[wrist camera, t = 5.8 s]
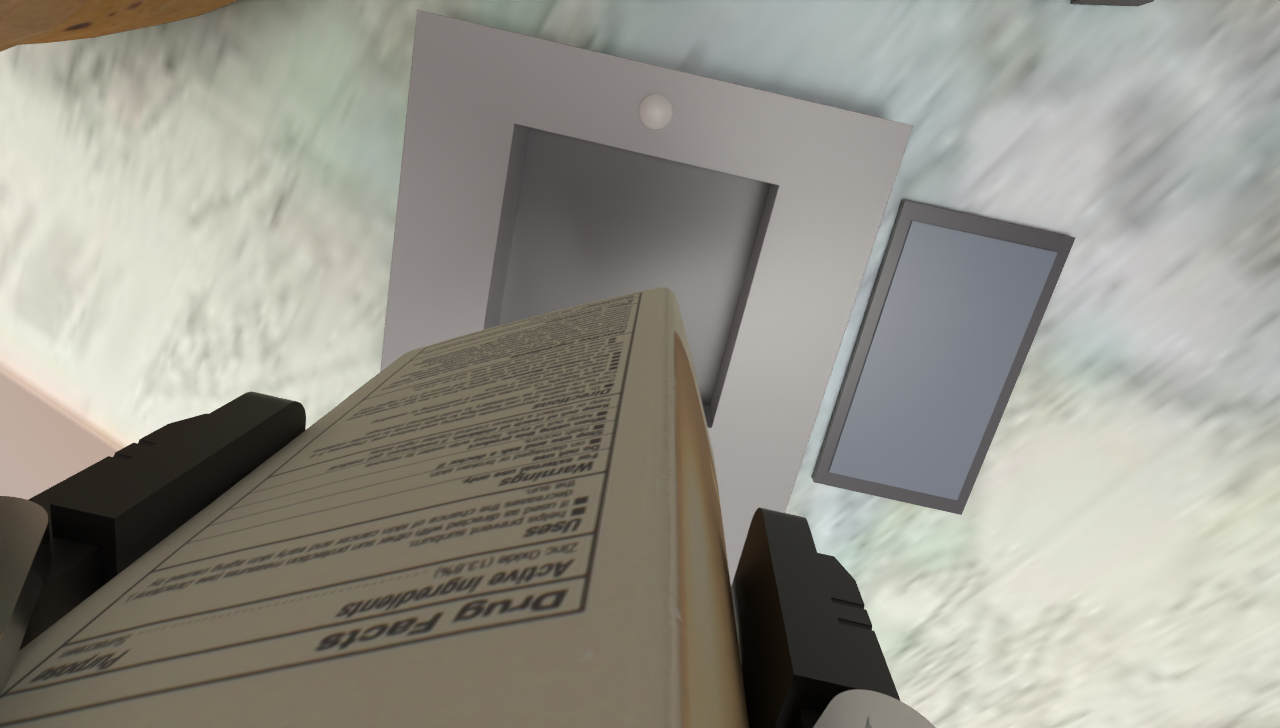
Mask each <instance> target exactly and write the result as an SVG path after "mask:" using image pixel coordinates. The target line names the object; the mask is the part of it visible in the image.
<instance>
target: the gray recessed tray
mask: <svg viewBox="0 0 1280 728" xmlns="http://www.w3.org/2000/svg"><path fill="white" fill-rule="evenodd" d="M912 127H913V125H908V124H904V123H900V122H896V121H891V120H887V119H883V118H878V117H874V116H870V115H866V114H861V113H857V112H853V111H848V110H844V109H840V108H836V107H831V106H827V105H823V104H818V103H814V102H810V101H806V100H801V99H797V98H793V97H788V96H784V95H780V94H776V93H771V92H767V91H763V90H758V89H754V88H750V87H746V86H741V85H737V84H733V83H728V82H724V81H720V80H716V79H711V78H707V77H703V76H698V75H694V74H690V73H686V72H681V71H677V70H673V69H668V68H664V67H660V66H656V65H651V64H647V63H643V62H638V61H634V60H630V59H626V58H621V57H617V56H613V55H608V54H604V53H600V52H596V51H591V50H587V49H583V48H578V47H574V46H570V45H566V44H561V43H557V42H553V41H548V40H544V39H540V38H536V37H531V36H527V35H523V34H518V33H514V32H510V31H506V30H501V29H497V28H493V27H488V26H484V25H480V24H476V23H471V22H467V21H463V20H458V19H454V18H450V17H446V16H441V15H437V14H433V13H428V12H424V11H420V10H417V18H416V28H415V38H414V48H413V58H412V67H411V77H410V87H409V97H408V107H407V116H406V126H405V136H404V146H403V155H402V165H401V175H400V185H399V195H398V204H397V214H396V224H395V234H394V244H393V253H392V263H391V273H390V283H389V292H388V302H387V312H386V322H385V332H384V341H383V351H382V361H381V371H383V370H384V369H385V368H387V367H388V366H389V365H390V364H392V363H393V362H394V361H396V360H397V359H398V358H399V357H401V356H402V355H403V354H405V353H407V352H409V351H412V350H415V349H418V348H422V347H425V346H429V345H432V344H436V343H439V342H442V341H445V340H449V339H452V338H456V337H459V336H463V335H466V334H470V333H474V332H477V331H481V330H484V329H488V328H492V327H496V326H499V325H503V324H507V323H511V322H515V321H519V320H523V319H526V318H530V317H534V316H538V315H542V314H545V313H549V312H553V311H557V310H561V309H565V308H569V307H574V306H578V305H582V304H587V303H591V302H595V301H600V300H604V299H608V298H612V297H616V296H621V295H626V294H630V293H635V292H640V291H645V290H649V289H654V288H660V287H666V288H668V289H670V290H671V291H672V292H673V293H674V295H675V296H676V299H677V303H678V306H679V310H680V314H681V318H682V322H683V326H684V330H685V334H686V337H687V341H688V345H689V349H690V353H691V357H692V361H693V365H694V369H695V374H696V378H697V382H698V387H699V391H700V396H701V400H702V405H703V409H704V414H705V418H706V422H707V427H708V432H709V436H710V441H711V446H712V450H713V455H714V460H715V468H716V476H717V483H718V491H719V498H720V506H721V514H722V521H723V529H724V537H725V544H726V552H727V560H728V568H729V576H730V584H731V586H732V583H733V579H734V576H735V573H736V570H737V566H738V563H739V560H740V556H741V553H742V550H743V547H744V543H745V540H746V537H747V534H748V530H749V527H750V524H751V521H752V518H753V515H754V513H755V511H756V510H757V509H758V508H759V507H760V508H764V509H769V510H773V511H778V512H782V513H785V511H786V508H787V505H788V502H789V499H790V496H791V493H792V490H793V487H794V484H795V481H796V478H797V475H798V472H799V469H800V466H801V463H802V460H803V457H804V454H805V451H806V447H807V444H808V441H809V438H810V435H811V432H812V429H813V426H814V423H815V420H816V417H817V414H818V411H819V408H820V405H821V402H822V399H823V396H824V393H825V390H826V387H827V384H828V381H829V378H830V375H831V372H832V369H833V366H834V363H835V360H836V357H837V354H838V351H839V348H840V345H841V342H842V339H843V336H844V333H845V330H846V327H847V324H848V321H849V318H850V315H851V312H852V309H853V306H854V303H855V300H856V297H857V294H858V290H859V287H860V284H861V281H862V278H863V275H864V272H865V269H866V266H867V263H868V260H869V257H870V254H871V251H872V248H873V245H874V242H875V239H876V236H877V233H878V230H879V227H880V224H881V221H882V218H883V215H884V212H885V209H886V206H887V203H888V200H889V197H890V194H891V191H892V188H893V185H894V182H895V179H896V176H897V173H898V170H899V167H900V164H901V161H902V158H903V155H904V152H905V149H906V146H907V143H908V140H909V137H910V134H911V130H912ZM381 371H380V372H381Z"/></svg>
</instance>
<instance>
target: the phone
mask: <svg viewBox="0 0 1280 728" xmlns="http://www.w3.org/2000/svg"><path fill="white" fill-rule="evenodd" d="M1074 240H1075V238H1074V237H1070V236H1065V235H1061V234H1056V233H1052V232H1047V231H1043V230H1038V229H1033V228H1029V227H1024V226H1020V225H1015V224H1011V223H1006V222H1002V221H997V220H992V219H988V218H983V217H979V216H974V215H970V214H965V213H961V212H956V211H951V210H947V209H942V208H938V207H933V206H929V205H924V204H920V203H915V202H910V201H906V200H902V202H901V205H900V208H899V211H898V214H897V217H896V221H895V224H894V227H893V230H892V233H891V236H890V239H889V242H888V245H887V248H886V251H885V254H884V257H883V261H882V264H881V267H880V270H879V273H878V276H877V279H876V282H875V285H874V288H873V291H872V294H871V297H870V301H869V304H868V307H867V310H866V313H865V316H864V319H863V322H862V325H861V328H860V331H859V334H858V338H857V341H856V344H855V347H854V350H853V353H852V356H851V359H850V362H849V365H848V368H847V371H846V374H845V378H844V381H843V384H842V387H841V390H840V393H839V396H838V399H837V402H836V405H835V408H834V411H833V414H832V418H831V421H830V424H829V427H828V430H827V433H826V436H825V439H824V442H823V445H822V448H821V451H820V455H819V458H818V461H817V464H816V467H815V470H814V473H813V476H812V479H813V482H816V483H820V484H825V485H829V486H834V487H838V488H843V489H847V490H852V491H856V492H861V493H866V494H870V495H875V496H879V497H884V498H888V499H893V500H897V501H902V502H906V503H911V504H915V505H920V506H924V507H929V508H933V509H938V510H942V511H947V512H952V513H956V514H961V515H962V512H963V510H964V507H965V505H966V502H967V500H968V498H969V495H970V493H971V490H972V488H973V485H974V483H975V481H976V478H977V476H978V473H979V471H980V468H981V466H982V464H983V461H984V459H985V456H986V454H987V451H988V449H989V447H990V444H991V442H992V439H993V437H994V434H995V432H996V430H997V427H998V425H999V422H1000V420H1001V417H1002V415H1003V413H1004V410H1005V408H1006V405H1007V403H1008V400H1009V398H1010V395H1011V393H1012V391H1013V388H1014V386H1015V383H1016V381H1017V378H1018V376H1019V374H1020V371H1021V369H1022V366H1023V364H1024V361H1025V359H1026V357H1027V354H1028V352H1029V349H1030V347H1031V344H1032V342H1033V340H1034V337H1035V335H1036V332H1037V330H1038V327H1039V325H1040V323H1041V320H1042V318H1043V315H1044V313H1045V310H1046V308H1047V306H1048V303H1049V301H1050V298H1051V296H1052V293H1053V291H1054V289H1055V286H1056V284H1057V281H1058V279H1059V276H1060V274H1061V272H1062V269H1063V267H1064V264H1065V262H1066V259H1067V257H1068V255H1069V252H1070V250H1071V247H1072V245H1073V242H1074Z"/></svg>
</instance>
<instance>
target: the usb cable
mask: <svg viewBox="0 0 1280 728" xmlns="http://www.w3.org/2000/svg"><path fill="white" fill-rule="evenodd" d="M1153 1H1154V0H1071V4H1090V5H1120V6H1140V5H1143V4H1146V3H1150V2H1153Z"/></svg>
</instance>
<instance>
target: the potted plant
mask: <svg viewBox="0 0 1280 728" xmlns="http://www.w3.org/2000/svg"><path fill="white" fill-rule="evenodd" d="M235 1H237V0H0V52H1V51H3V50H6V49H8V48H11V47H13V46H16V45H21V44H36V43H50V42H58V41H67V40H75V39H84V38H92V37H98V36H103V35H109V34H114V33H119V32H124V31H129V30H134V29H139V28H144V27H150V26H155V25H160V24H164V23H168V22H173V21H177V20H182V19H186V18H190V17H195V16H198V15H201V14H204V13H207V12H210V11H213V10H216V9H218V8H221V7H224V6H227V5H229V4H231V3H233V2H235Z"/></svg>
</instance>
